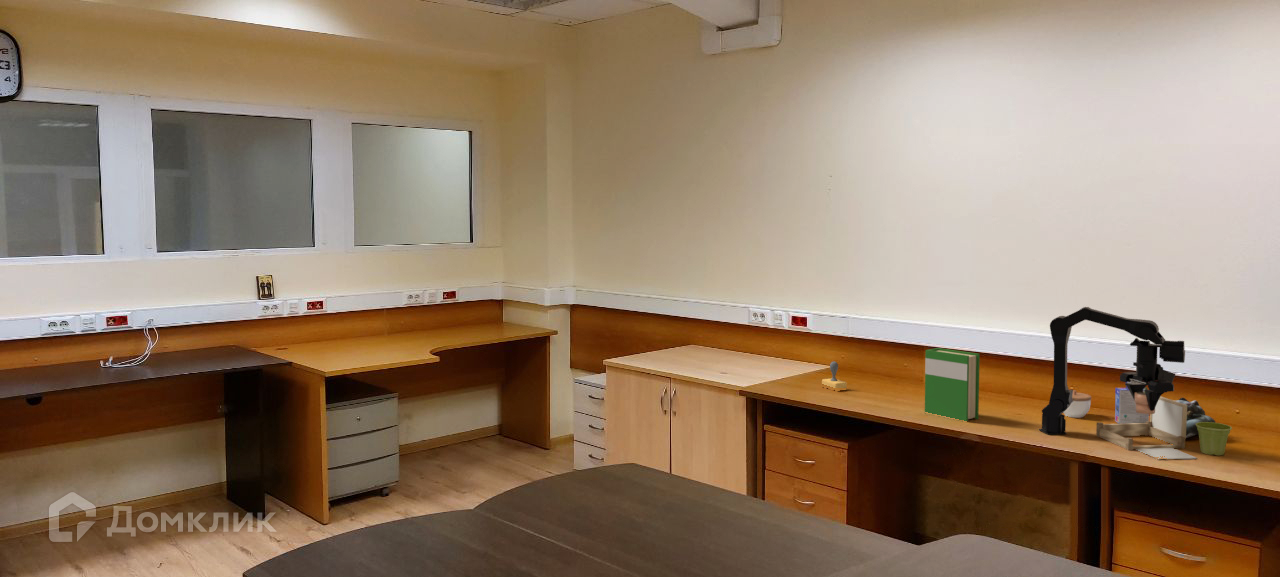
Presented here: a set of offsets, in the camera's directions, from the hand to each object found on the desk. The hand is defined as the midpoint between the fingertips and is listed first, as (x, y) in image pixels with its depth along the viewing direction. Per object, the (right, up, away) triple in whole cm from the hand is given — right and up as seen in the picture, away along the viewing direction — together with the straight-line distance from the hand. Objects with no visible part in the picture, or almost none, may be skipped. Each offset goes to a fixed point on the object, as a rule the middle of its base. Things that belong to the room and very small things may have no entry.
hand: (1145, 408), depth 278 cm
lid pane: (+9, -8, +4) cm, 13 cm away
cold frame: (0, -11, +3) cm, 12 cm away
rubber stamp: (-79, -5, +94) cm, 123 cm away
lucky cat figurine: (+19, -11, +10) cm, 24 cm away
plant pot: (+15, -13, -10) cm, 22 cm away
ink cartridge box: (+12, -9, +29) cm, 32 cm away
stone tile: (0, -13, -11) cm, 17 cm away
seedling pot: (0, -1, 0) cm, 1 cm away
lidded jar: (-3, -9, +40) cm, 41 cm away
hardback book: (-47, -9, +42) cm, 64 cm away
